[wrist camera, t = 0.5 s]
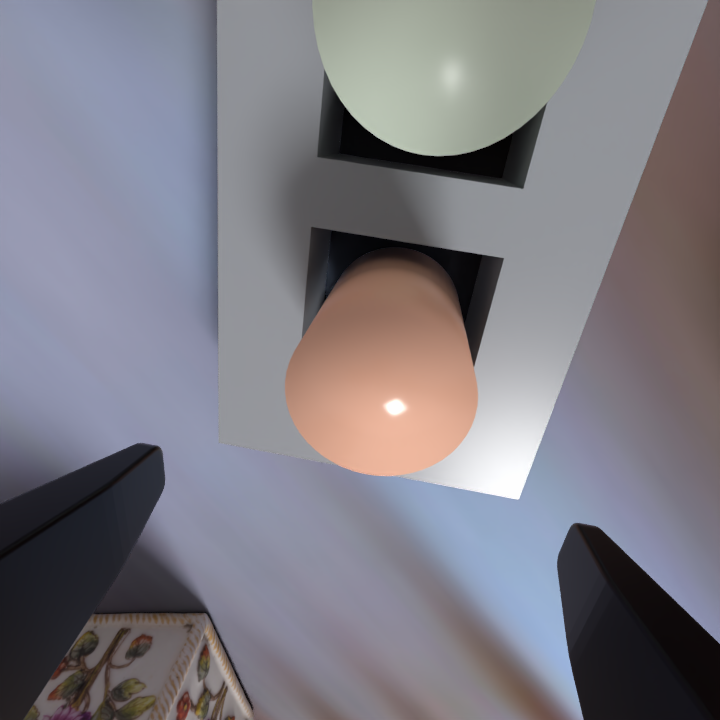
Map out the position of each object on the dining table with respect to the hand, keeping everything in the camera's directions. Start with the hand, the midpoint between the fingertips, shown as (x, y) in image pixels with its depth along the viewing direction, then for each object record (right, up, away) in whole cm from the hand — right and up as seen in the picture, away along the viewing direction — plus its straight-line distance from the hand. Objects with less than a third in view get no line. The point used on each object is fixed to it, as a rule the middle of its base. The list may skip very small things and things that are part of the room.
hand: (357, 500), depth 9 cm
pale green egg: (+2, +12, +5) cm, 13 cm away
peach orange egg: (+1, +4, +9) cm, 10 cm away
